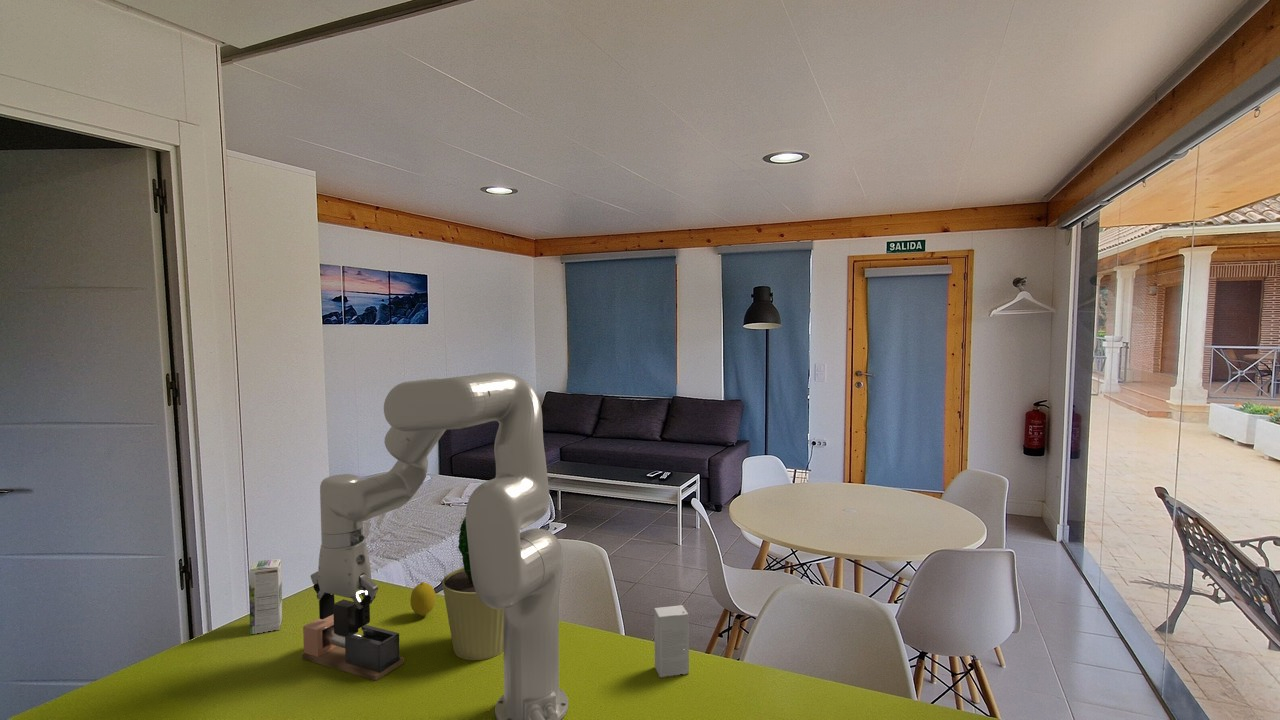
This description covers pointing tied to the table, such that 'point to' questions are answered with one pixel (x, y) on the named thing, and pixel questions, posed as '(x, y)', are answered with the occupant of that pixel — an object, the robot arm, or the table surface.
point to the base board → (338, 661)
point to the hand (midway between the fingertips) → (344, 620)
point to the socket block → (317, 636)
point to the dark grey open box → (372, 649)
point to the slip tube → (341, 624)
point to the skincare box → (671, 640)
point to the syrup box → (265, 596)
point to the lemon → (423, 599)
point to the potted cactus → (471, 612)
